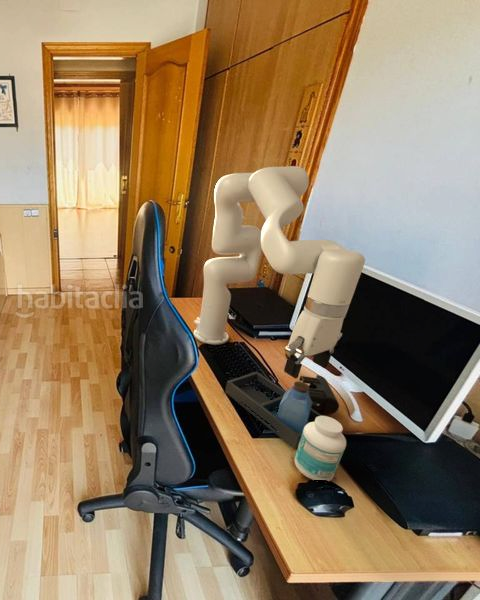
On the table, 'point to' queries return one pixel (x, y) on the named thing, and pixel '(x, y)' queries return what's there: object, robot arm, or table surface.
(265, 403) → the rack
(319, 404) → the dark brown rock
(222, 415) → the table surface
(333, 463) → the pill bottle
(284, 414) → the perfume bottle
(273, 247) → the robot arm
